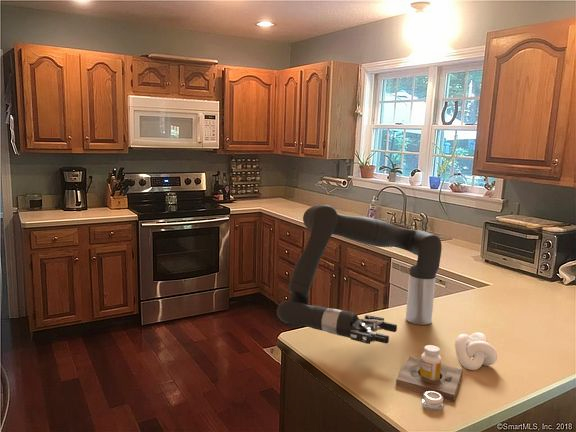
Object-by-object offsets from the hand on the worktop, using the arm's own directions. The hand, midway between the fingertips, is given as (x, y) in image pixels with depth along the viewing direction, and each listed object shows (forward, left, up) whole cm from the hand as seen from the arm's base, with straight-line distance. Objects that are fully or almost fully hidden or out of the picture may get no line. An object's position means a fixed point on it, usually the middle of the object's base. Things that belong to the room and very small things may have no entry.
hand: (392, 334), depth 131 cm
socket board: (+1, +11, -11) cm, 16 cm away
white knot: (-15, +20, -11) cm, 28 cm away
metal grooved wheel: (+13, +14, -11) cm, 22 cm away
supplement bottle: (+1, +11, -11) cm, 16 cm away
